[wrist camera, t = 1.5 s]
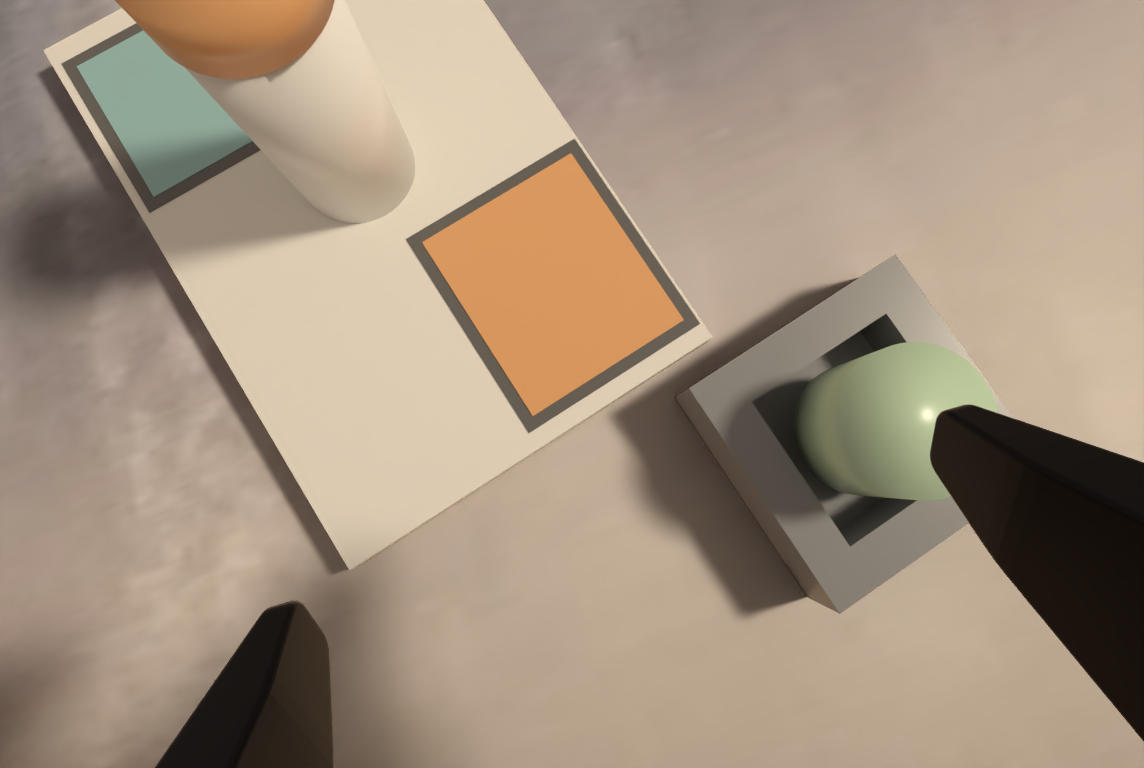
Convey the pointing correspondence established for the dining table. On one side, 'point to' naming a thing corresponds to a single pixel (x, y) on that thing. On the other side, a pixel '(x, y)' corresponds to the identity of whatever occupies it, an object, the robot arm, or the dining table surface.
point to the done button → (884, 419)
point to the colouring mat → (395, 267)
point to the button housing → (772, 462)
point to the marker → (295, 93)
